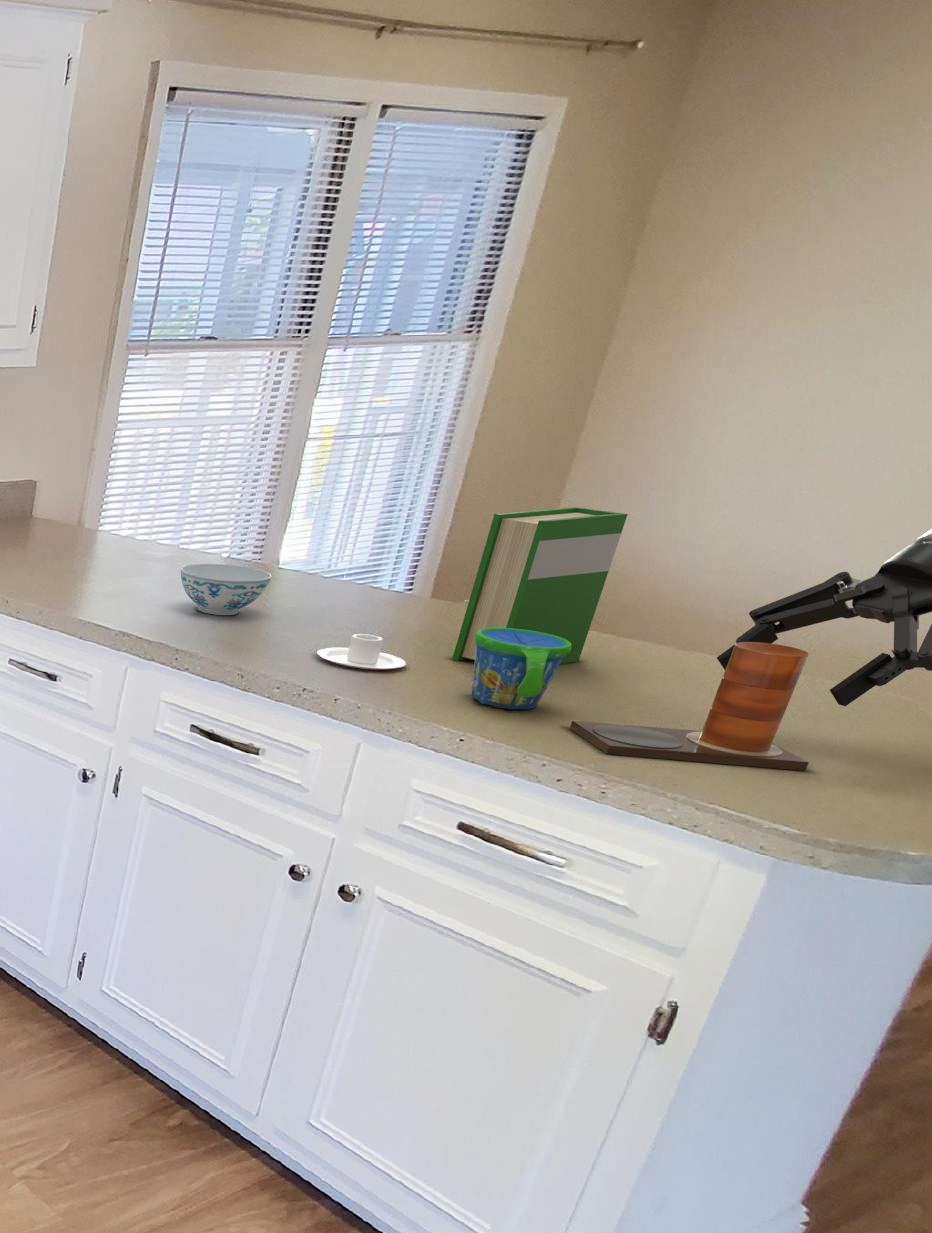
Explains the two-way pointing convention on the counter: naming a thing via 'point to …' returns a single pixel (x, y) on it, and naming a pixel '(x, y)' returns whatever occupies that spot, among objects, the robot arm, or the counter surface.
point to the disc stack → (753, 696)
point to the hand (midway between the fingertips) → (777, 681)
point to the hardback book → (542, 575)
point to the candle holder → (362, 654)
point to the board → (678, 746)
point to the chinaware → (223, 586)
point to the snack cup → (515, 666)
